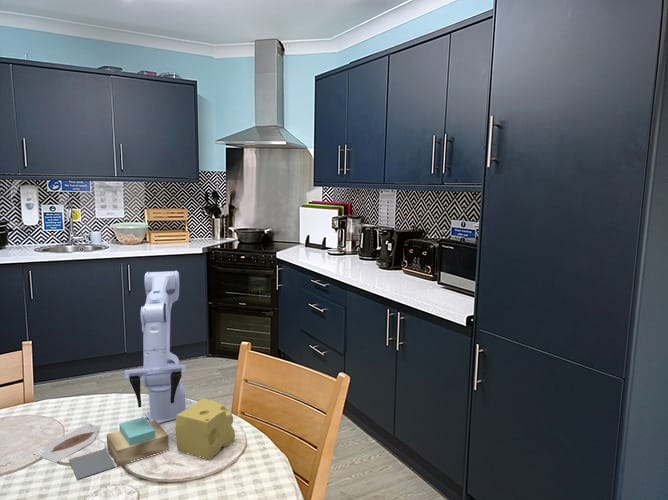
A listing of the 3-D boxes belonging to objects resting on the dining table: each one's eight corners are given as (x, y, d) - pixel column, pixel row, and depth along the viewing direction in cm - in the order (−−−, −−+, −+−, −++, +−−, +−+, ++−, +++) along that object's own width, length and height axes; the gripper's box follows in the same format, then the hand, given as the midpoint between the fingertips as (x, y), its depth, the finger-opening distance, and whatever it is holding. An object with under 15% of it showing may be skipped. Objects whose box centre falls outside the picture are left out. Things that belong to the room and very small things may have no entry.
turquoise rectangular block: (144, 424, 124) (143, 416, 124) (155, 437, 117) (154, 430, 117) (119, 431, 121) (119, 423, 120) (129, 445, 114) (129, 437, 113)
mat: (105, 449, 119) (105, 448, 119) (115, 467, 112) (115, 466, 112) (69, 460, 115) (69, 459, 115) (77, 480, 107) (77, 479, 107)
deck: (155, 434, 127) (155, 420, 127) (168, 450, 119) (168, 435, 119) (107, 449, 120) (106, 434, 119) (117, 466, 112) (116, 450, 111)
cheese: (235, 441, 124) (234, 404, 123) (208, 462, 114) (206, 422, 113) (203, 432, 128) (202, 397, 127) (174, 452, 118) (173, 414, 117)
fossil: (88, 422, 132) (113, 429, 128) (89, 426, 133) (113, 433, 128) (29, 452, 118) (55, 460, 114) (30, 456, 118) (55, 465, 114)
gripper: (124, 353, 116) (124, 411, 114) (186, 347, 122) (187, 402, 120) (124, 352, 122) (124, 407, 120) (183, 347, 128) (184, 399, 126)
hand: (156, 404), depth 120 cm, fingers open, 7 cm apart
